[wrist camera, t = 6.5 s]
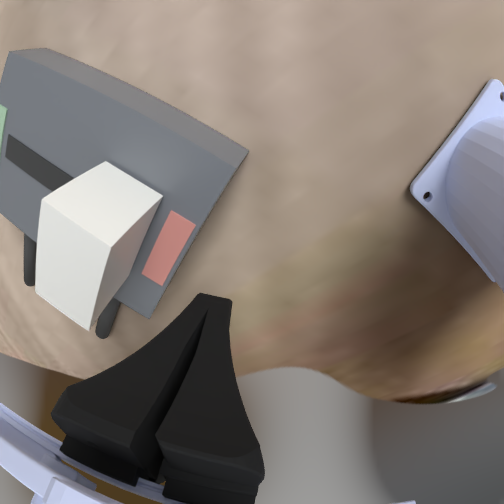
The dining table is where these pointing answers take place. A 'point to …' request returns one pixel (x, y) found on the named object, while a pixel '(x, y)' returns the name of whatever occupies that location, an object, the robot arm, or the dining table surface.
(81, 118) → the breaker block
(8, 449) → the robot arm
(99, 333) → the dressed cords
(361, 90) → the dining table surface
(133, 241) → the breaker handle
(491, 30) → the dining table surface
